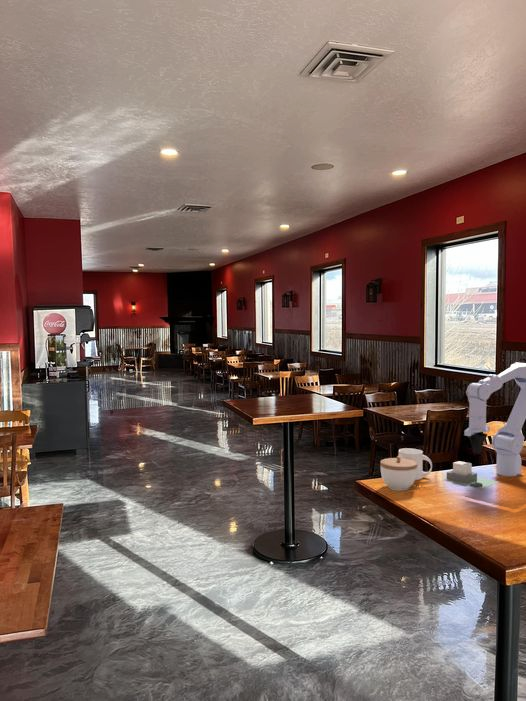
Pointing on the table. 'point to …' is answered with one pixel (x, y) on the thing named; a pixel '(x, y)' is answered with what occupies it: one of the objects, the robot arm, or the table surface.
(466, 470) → the plug
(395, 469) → the lidded bowl
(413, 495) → the table surface
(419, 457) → the mug
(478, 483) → the board
